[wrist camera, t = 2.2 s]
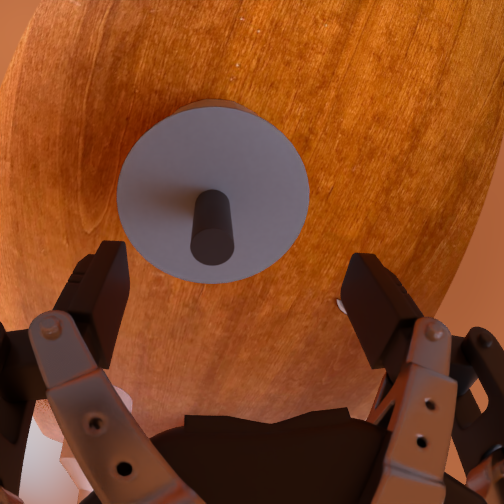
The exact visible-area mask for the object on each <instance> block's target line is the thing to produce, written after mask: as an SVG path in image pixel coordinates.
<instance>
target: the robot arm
mask: <svg viewBox="0 0 504 504" xmlns="http://www.w3.org/2000/svg"><path fill="white" fill-rule="evenodd" d="M129 290H130V278H129V270H128V261H127V252H126V245H125V242H124V241H105V240H104V241H102V243H101V244H100V246H99V248H98V250H97V252H96V254H95V255H94V254H88V255H87V256H86V257H84V258H83V259H82V260H81V261H79V262H78V264H77V265H76V267H75V269H74V271H73V274H71V276H70V278H69V280H68V282H67V283H66V285H65V287H64V289H63V291H62V292H61V294H60V296H59V298H58V300H57V302H56V304H55V306H54V308H53V310H51V311H47V312H44V313H42V314H40V315H39V316H37V317H36V318H35V319H34V320H33V321H32V323H31V324H30V326H29V329H25V330H17V331H10V332H6V331H5V329H4V326H3V324H2V323H1V322H0V504H24V502H23V501H22V500H21V499H20V498H19V487H20V480H21V472H22V466H23V460H24V454H25V449H26V443H27V438H28V433H29V428H30V424H31V420H32V416H33V411H34V407H35V403H36V400H41V399H48V402H49V404H50V406H51V409H52V411H53V413H54V416H55V418H56V420H57V423H58V425H59V427H60V429H61V431H62V433H63V435H64V437H65V439H66V441H67V443H68V445H69V447H70V449H71V451H72V453H73V455H74V457H75V459H76V461H77V463H78V464H79V466H80V468H81V470H82V471H83V473H84V475H85V477H86V478H87V480H88V482H89V483H90V485H91V487H92V488H93V491H92V492H91V493H90V494H89V495H88V496H87V497H85V498H84V499H83V500H82V501H81V502H80V503H79V504H504V350H503V349H502V347H501V346H500V344H499V343H498V341H497V340H496V338H495V337H494V336H493V335H492V334H491V333H490V332H489V331H488V330H486V329H484V328H481V327H473V328H471V329H470V331H469V332H468V334H467V335H466V337H465V338H464V337H458V336H453V335H451V333H450V331H449V330H448V328H447V327H446V326H445V325H444V324H443V323H442V322H440V321H438V320H437V319H434V318H431V317H424V316H423V314H422V313H421V311H420V310H419V308H418V307H417V305H416V304H415V302H414V301H413V299H412V298H411V297H410V295H409V294H407V291H406V289H405V288H404V287H403V286H402V284H401V282H400V281H399V280H398V278H397V277H396V275H394V274H393V273H392V272H391V271H389V270H388V269H387V268H385V267H384V266H383V265H382V263H381V262H380V261H379V259H378V258H377V257H376V255H375V254H369V253H354V254H353V255H352V257H351V260H350V263H349V266H348V269H347V272H346V275H345V278H344V281H343V284H342V287H341V301H342V304H343V306H344V308H345V311H346V313H347V315H348V317H349V319H350V321H351V324H352V326H353V328H354V330H355V332H356V334H357V337H358V339H359V341H360V343H361V345H362V348H363V350H364V352H365V354H366V357H367V359H368V361H369V364H370V366H371V368H372V369H379V368H385V369H386V373H385V374H384V376H383V378H382V381H381V384H380V387H379V389H378V392H377V395H376V398H375V400H374V403H373V406H372V408H371V411H370V414H369V416H368V418H367V420H366V421H364V420H360V419H355V418H351V417H350V414H349V411H348V408H347V407H345V408H337V409H330V410H321V411H311V412H308V413H305V414H302V415H299V416H296V417H293V418H290V419H287V420H284V421H281V422H277V423H273V424H268V423H261V422H256V421H250V420H245V419H240V418H235V417H230V416H200V415H185V418H184V426H181V427H176V428H172V429H169V430H166V431H164V432H161V433H159V434H157V435H155V436H153V437H151V438H150V439H149V438H148V437H147V436H146V434H145V433H144V432H143V430H142V429H141V427H140V426H139V425H138V423H137V422H136V420H135V419H134V417H133V416H132V414H131V413H130V412H129V410H128V409H127V407H126V406H125V404H124V403H123V401H122V399H121V398H120V396H119V395H118V393H117V392H116V390H115V388H114V387H113V385H112V384H111V382H110V380H109V379H108V377H107V375H106V374H105V372H104V371H103V369H109V366H110V362H111V358H112V354H113V350H114V346H115V343H116V339H117V335H118V331H119V328H120V324H121V321H122V317H123V314H124V310H125V307H126V303H127V300H128V296H129ZM478 378H479V380H480V382H481V384H482V386H483V388H484V390H485V392H486V394H487V395H488V400H489V402H488V407H487V409H486V410H485V411H484V412H483V413H481V411H480V409H479V407H478V405H477V403H476V401H475V399H474V397H473V395H472V393H471V391H470V389H469V388H470V387H471V386H472V385H473V383H474V382H475V381H476V380H477V379H478ZM451 437H452V439H453V442H454V444H455V447H456V450H457V452H458V455H459V458H460V461H461V463H462V466H463V469H464V472H465V474H466V478H467V481H466V484H465V485H464V484H462V483H461V482H459V481H458V480H456V479H455V478H453V477H452V476H450V475H449V474H447V473H446V472H444V470H445V466H446V461H447V456H448V451H449V446H450V440H451Z"/></svg>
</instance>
